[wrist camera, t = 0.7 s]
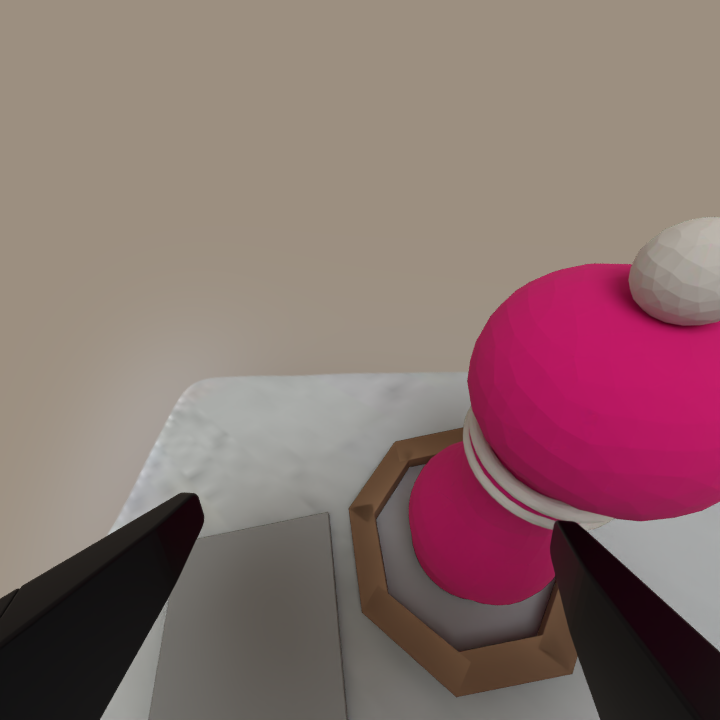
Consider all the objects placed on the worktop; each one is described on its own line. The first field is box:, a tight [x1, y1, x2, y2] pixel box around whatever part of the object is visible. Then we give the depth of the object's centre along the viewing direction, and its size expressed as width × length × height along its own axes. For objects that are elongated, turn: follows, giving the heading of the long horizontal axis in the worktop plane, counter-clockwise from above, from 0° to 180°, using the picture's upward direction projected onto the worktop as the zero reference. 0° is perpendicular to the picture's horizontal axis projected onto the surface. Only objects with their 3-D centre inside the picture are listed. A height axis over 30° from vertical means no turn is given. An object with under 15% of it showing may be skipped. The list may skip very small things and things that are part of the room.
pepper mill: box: [409, 217, 720, 605], centre depth 13 cm, size 7×7×20 cm
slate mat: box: [148, 512, 348, 720], centre depth 20 cm, size 10×10×1 cm
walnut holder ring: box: [349, 427, 578, 697], centre depth 21 cm, size 13×13×1 cm
